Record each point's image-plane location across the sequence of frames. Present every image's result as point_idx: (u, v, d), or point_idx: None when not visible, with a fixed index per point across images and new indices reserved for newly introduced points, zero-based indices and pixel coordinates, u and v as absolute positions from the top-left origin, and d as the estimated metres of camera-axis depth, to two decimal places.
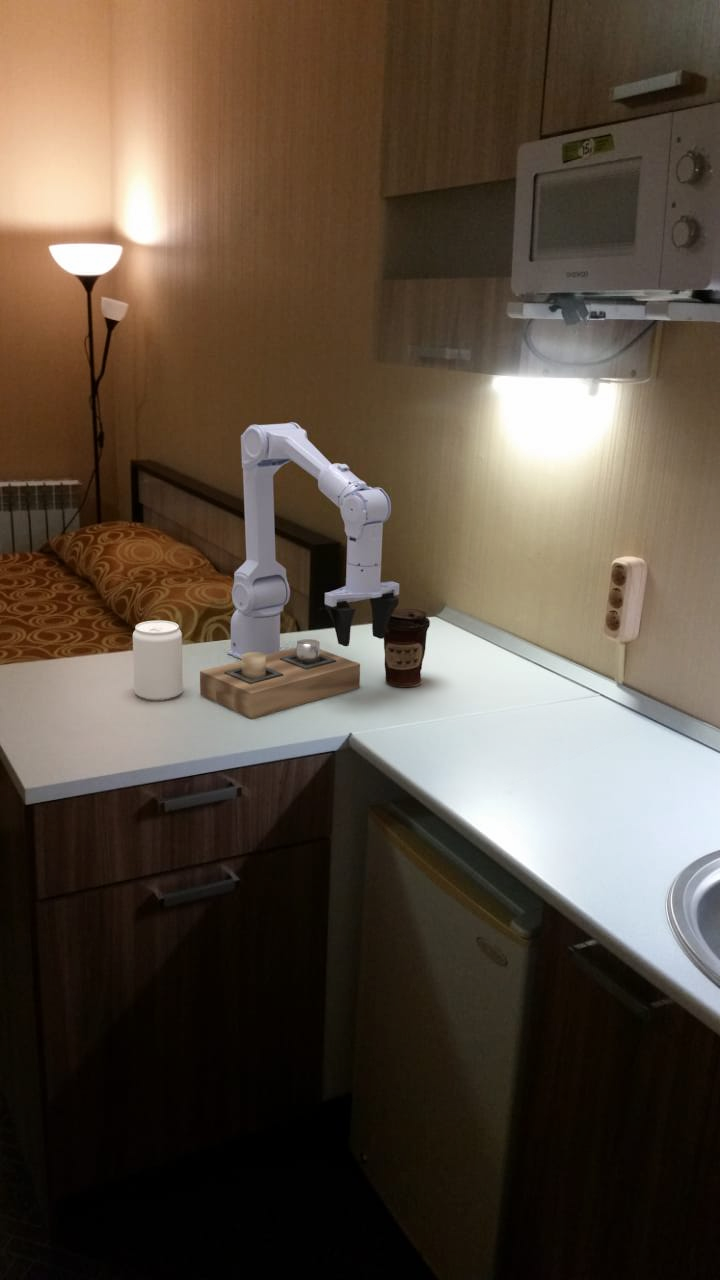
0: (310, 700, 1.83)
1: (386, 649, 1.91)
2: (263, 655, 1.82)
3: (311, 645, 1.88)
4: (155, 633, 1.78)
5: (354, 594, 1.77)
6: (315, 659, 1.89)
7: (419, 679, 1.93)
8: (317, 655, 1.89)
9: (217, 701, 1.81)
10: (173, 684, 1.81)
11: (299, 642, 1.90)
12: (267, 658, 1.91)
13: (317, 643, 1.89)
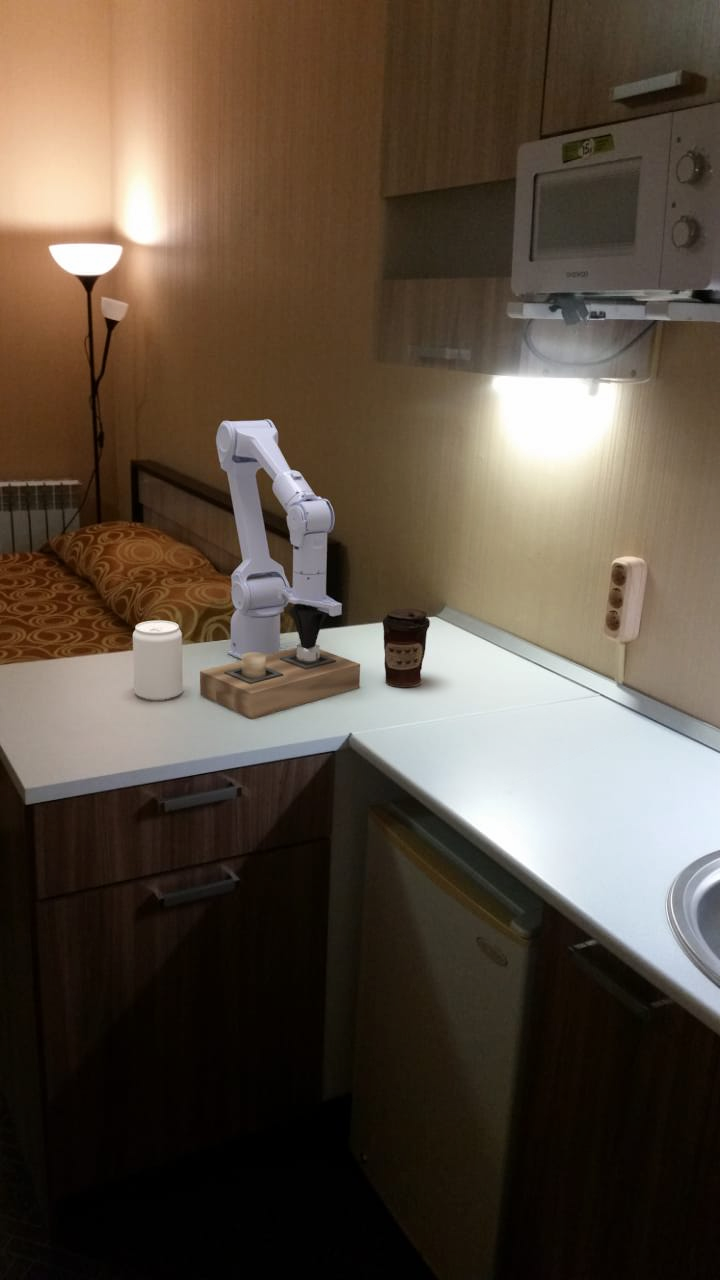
0: (310, 700, 1.83)
1: (386, 649, 1.91)
2: (263, 655, 1.82)
3: (311, 649, 1.88)
4: (155, 633, 1.78)
5: (287, 594, 1.88)
6: None
7: (419, 679, 1.93)
8: (317, 659, 1.89)
9: (217, 701, 1.81)
10: (173, 684, 1.81)
11: (299, 646, 1.90)
12: (267, 658, 1.91)
13: (317, 647, 1.89)
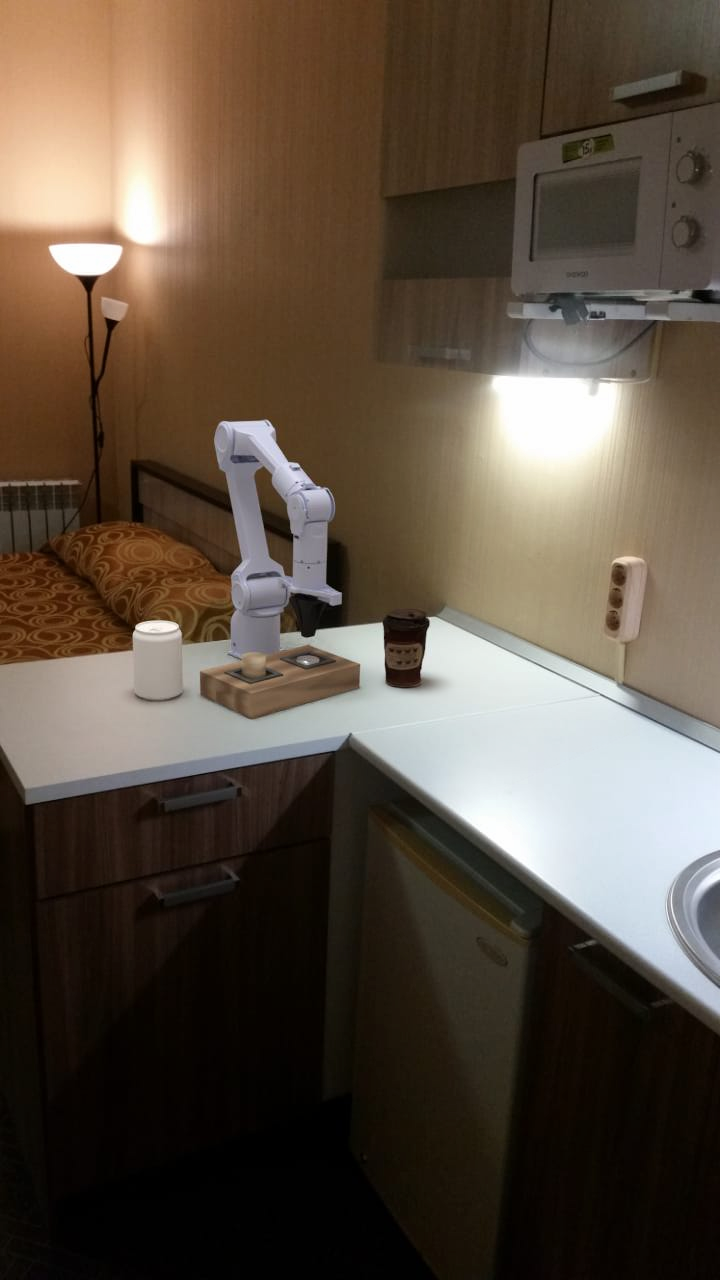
0: (310, 700, 1.83)
1: (386, 649, 1.91)
2: (263, 655, 1.82)
3: (311, 662, 1.89)
4: (155, 633, 1.78)
5: (287, 583, 1.88)
6: None
7: (419, 679, 1.93)
8: None
9: (217, 701, 1.81)
10: (173, 684, 1.81)
11: (299, 658, 1.90)
12: (267, 658, 1.91)
13: (317, 659, 1.90)
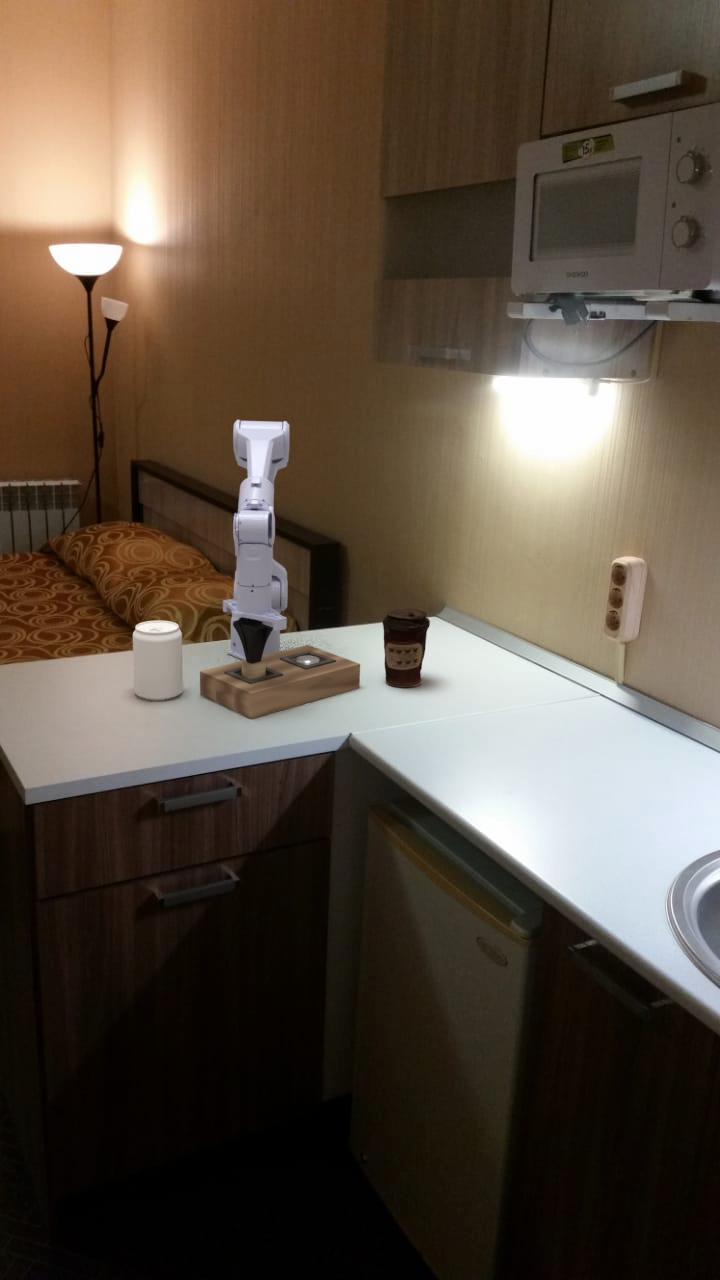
0: (310, 700, 1.83)
1: (386, 649, 1.91)
2: (263, 661, 1.82)
3: (311, 662, 1.89)
4: (155, 633, 1.78)
5: (231, 607, 1.80)
6: None
7: (419, 679, 1.93)
8: None
9: (217, 701, 1.81)
10: (173, 684, 1.81)
11: (299, 658, 1.90)
12: (267, 658, 1.91)
13: (317, 659, 1.90)
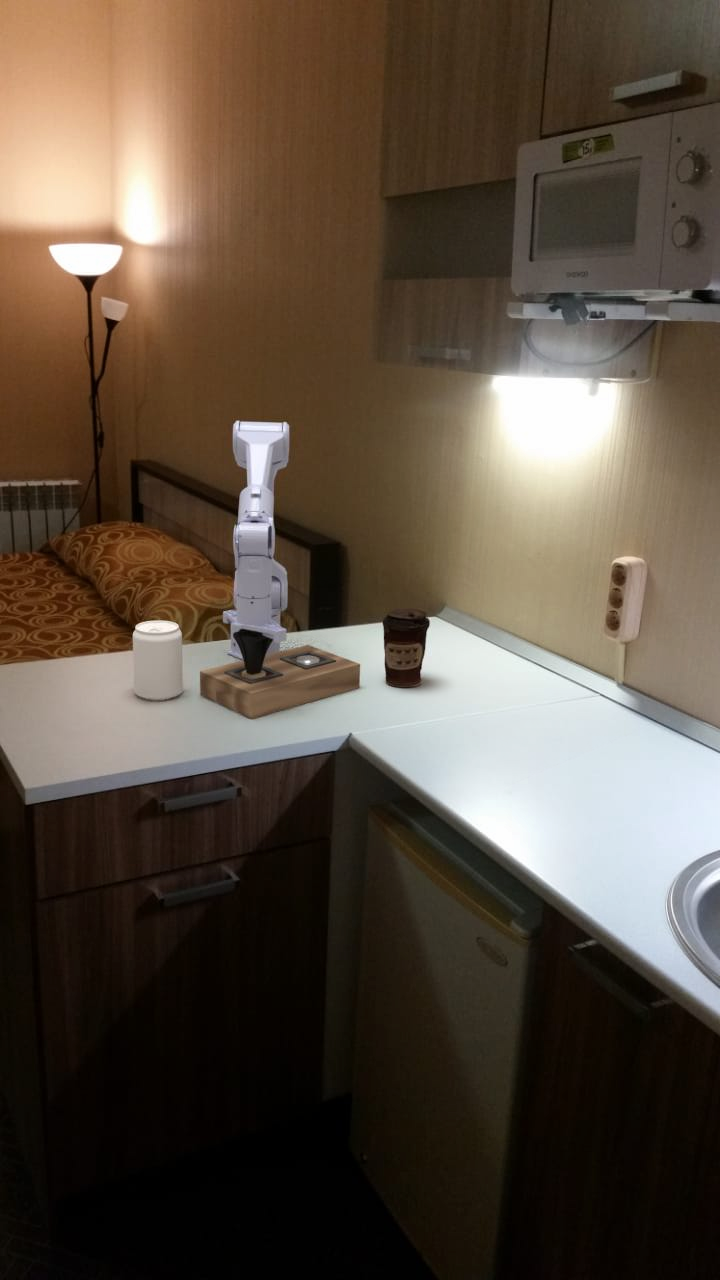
0: (310, 700, 1.83)
1: (386, 649, 1.91)
2: (263, 672, 1.83)
3: (311, 662, 1.89)
4: (155, 633, 1.78)
5: (232, 618, 1.81)
6: None
7: (419, 679, 1.93)
8: None
9: (217, 701, 1.81)
10: (173, 684, 1.81)
11: (299, 658, 1.90)
12: (267, 658, 1.91)
13: (317, 659, 1.90)
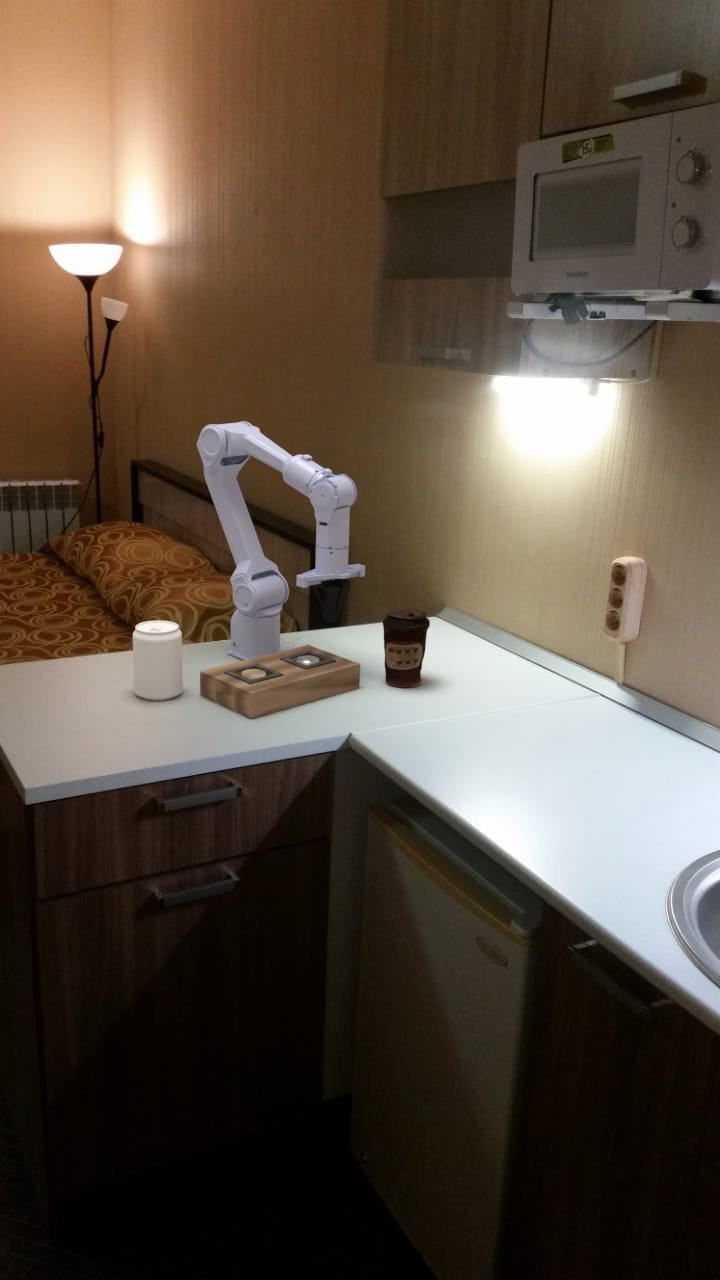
0: (310, 700, 1.83)
1: (386, 649, 1.91)
2: (263, 672, 1.83)
3: (311, 662, 1.89)
4: (155, 633, 1.78)
5: (324, 576, 1.87)
6: None
7: (419, 679, 1.93)
8: None
9: (217, 701, 1.81)
10: (173, 684, 1.81)
11: (299, 658, 1.90)
12: (267, 658, 1.91)
13: (317, 659, 1.90)
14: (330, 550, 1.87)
